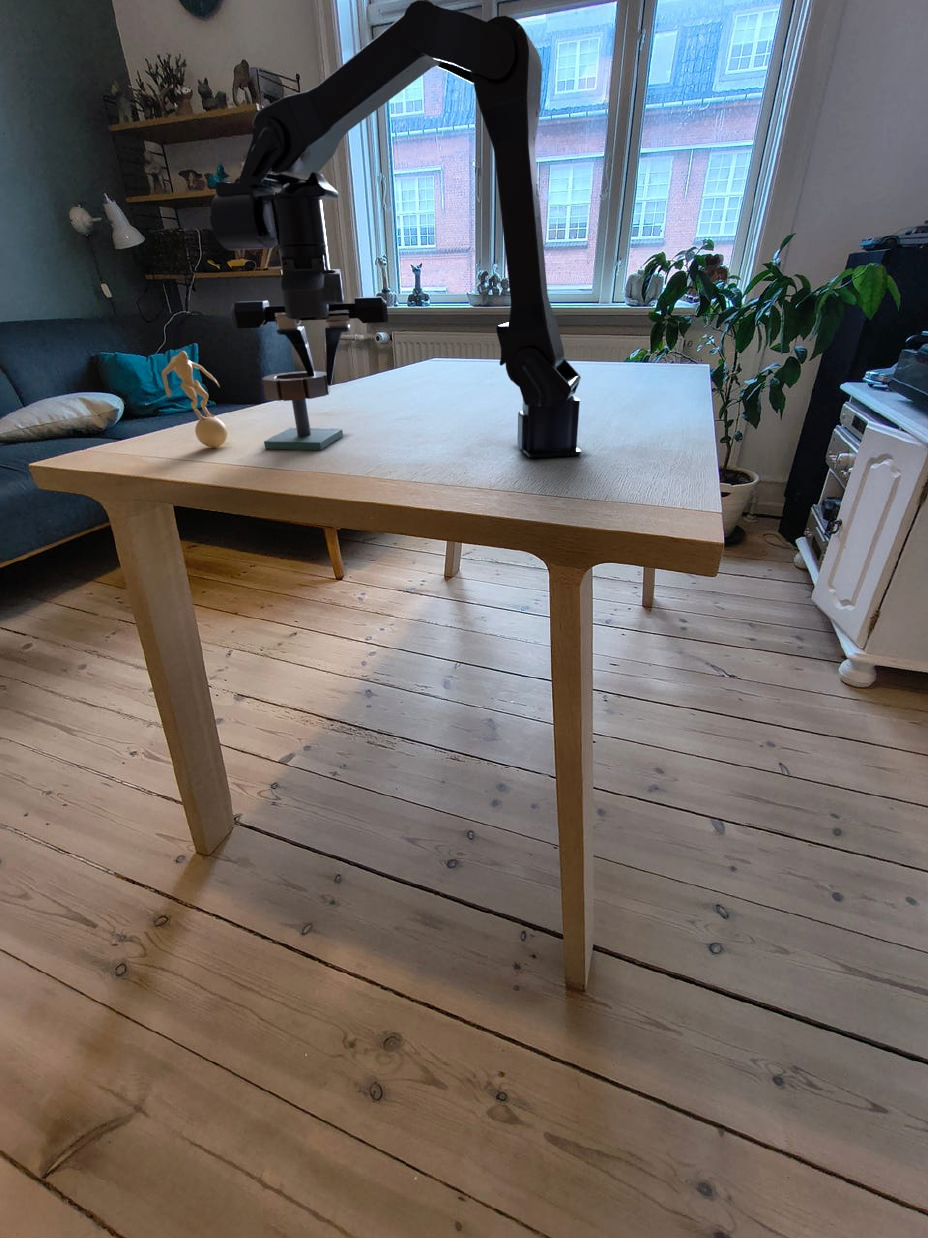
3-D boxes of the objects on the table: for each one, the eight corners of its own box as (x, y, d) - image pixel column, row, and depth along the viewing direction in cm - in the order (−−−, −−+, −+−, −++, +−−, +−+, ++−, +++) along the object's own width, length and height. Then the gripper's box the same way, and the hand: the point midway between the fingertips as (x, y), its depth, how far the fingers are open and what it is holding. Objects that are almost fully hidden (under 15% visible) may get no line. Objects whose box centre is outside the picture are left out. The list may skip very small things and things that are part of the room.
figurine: (200, 455, 77) (175, 355, 71) (169, 451, 79) (142, 353, 73) (248, 441, 83) (228, 347, 77) (217, 437, 86) (196, 346, 80)
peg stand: (343, 435, 85) (335, 375, 81) (321, 450, 78) (311, 385, 74) (291, 434, 86) (281, 375, 82) (265, 448, 79) (252, 385, 75)
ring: (331, 388, 83) (329, 369, 81) (327, 398, 76) (324, 378, 74) (272, 391, 82) (268, 373, 81) (261, 402, 75) (257, 382, 74)
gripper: (206, 245, 63) (238, 400, 71) (382, 240, 65) (395, 391, 73) (227, 250, 72) (253, 385, 80) (380, 245, 74) (391, 378, 82)
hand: (322, 385), depth 79 cm, fingers closed on ring, 2 cm apart
